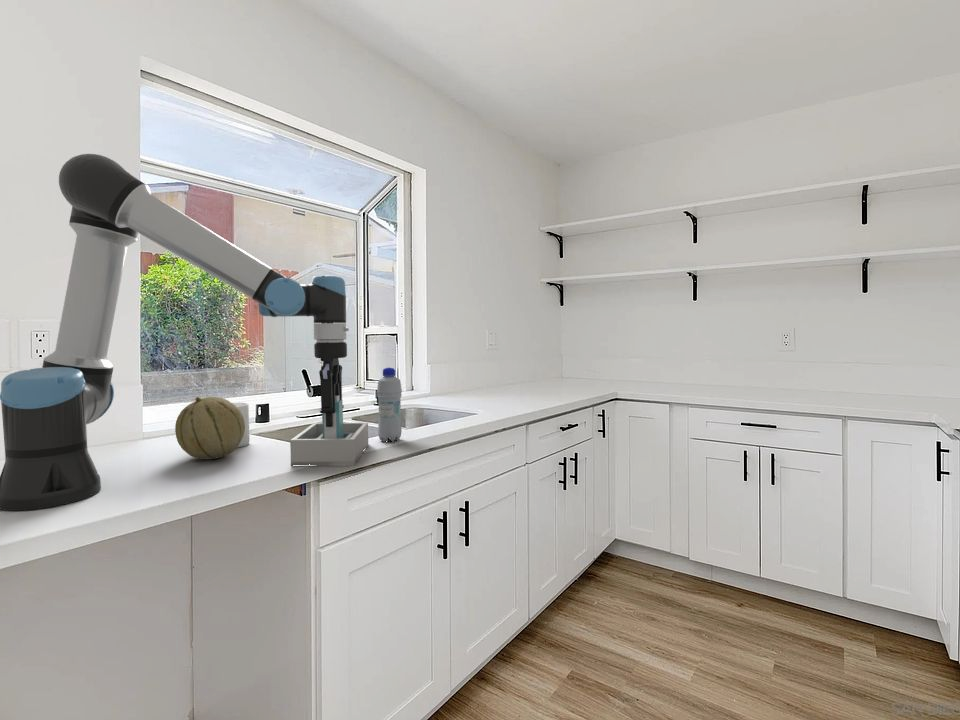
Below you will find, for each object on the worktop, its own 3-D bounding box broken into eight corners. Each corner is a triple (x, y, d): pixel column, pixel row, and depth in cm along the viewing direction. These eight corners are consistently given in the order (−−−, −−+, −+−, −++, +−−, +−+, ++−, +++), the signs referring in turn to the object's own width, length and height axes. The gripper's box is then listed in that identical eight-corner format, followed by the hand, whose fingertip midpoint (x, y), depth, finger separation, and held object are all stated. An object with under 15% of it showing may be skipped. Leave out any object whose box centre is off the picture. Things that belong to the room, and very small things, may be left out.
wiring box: (354, 465, 118) (353, 439, 117) (290, 466, 117) (290, 440, 117) (368, 445, 138) (368, 422, 137) (314, 445, 137) (313, 423, 136)
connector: (339, 443, 125) (338, 397, 124) (323, 444, 125) (321, 397, 124) (343, 440, 129) (342, 395, 128) (326, 440, 129) (325, 395, 128)
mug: (194, 447, 135) (192, 406, 134) (241, 440, 143) (240, 401, 143) (206, 453, 129) (204, 410, 128) (255, 445, 138) (254, 404, 137)
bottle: (372, 442, 141) (371, 368, 140) (385, 436, 148) (384, 366, 146) (395, 443, 139) (394, 368, 138) (406, 438, 145) (405, 366, 144)
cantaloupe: (259, 453, 129) (257, 393, 128) (210, 469, 115) (207, 401, 114) (213, 448, 134) (211, 390, 133) (160, 463, 120) (158, 398, 119)
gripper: (338, 342, 117) (341, 445, 119) (353, 340, 134) (355, 430, 136) (304, 342, 117) (307, 446, 118) (323, 340, 134) (325, 430, 135)
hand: (332, 437), depth 127 cm, fingers closed on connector, 4 cm apart
